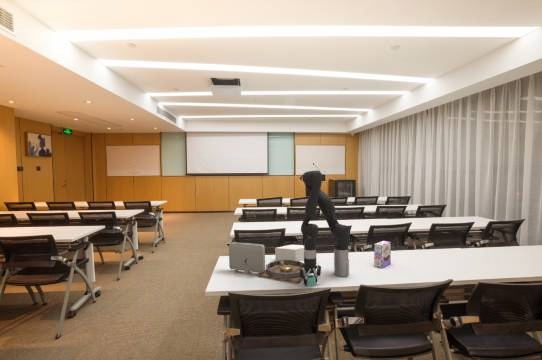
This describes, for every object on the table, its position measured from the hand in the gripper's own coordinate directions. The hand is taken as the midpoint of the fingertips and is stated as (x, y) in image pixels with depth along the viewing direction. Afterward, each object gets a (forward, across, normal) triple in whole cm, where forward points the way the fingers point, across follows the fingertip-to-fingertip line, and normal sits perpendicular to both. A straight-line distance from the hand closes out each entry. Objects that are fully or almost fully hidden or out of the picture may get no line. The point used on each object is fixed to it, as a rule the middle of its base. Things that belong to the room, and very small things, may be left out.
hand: (310, 283), depth 164 cm
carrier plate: (+1, +6, -24) cm, 25 cm away
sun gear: (-1, +6, -24) cm, 25 cm away
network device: (+1, +30, -35) cm, 46 cm away
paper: (+1, -11, -47) cm, 48 cm away
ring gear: (-1, +6, -24) cm, 25 cm away
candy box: (+1, -64, -11) cm, 65 cm away
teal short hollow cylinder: (+1, 0, 0) cm, 1 cm away
